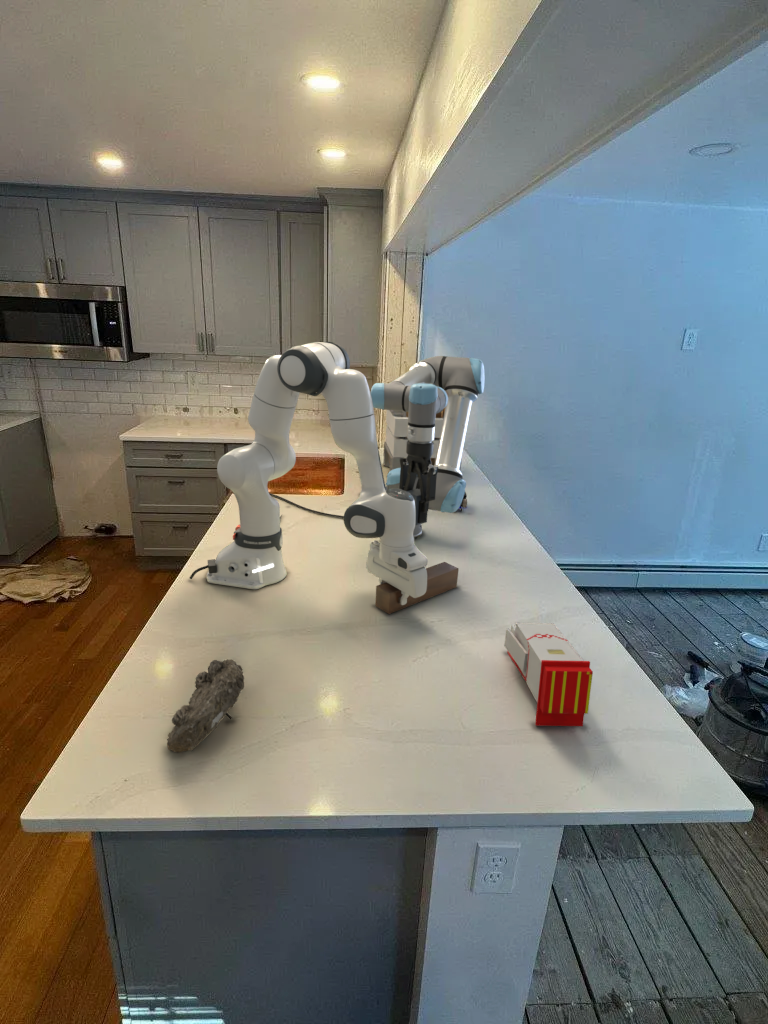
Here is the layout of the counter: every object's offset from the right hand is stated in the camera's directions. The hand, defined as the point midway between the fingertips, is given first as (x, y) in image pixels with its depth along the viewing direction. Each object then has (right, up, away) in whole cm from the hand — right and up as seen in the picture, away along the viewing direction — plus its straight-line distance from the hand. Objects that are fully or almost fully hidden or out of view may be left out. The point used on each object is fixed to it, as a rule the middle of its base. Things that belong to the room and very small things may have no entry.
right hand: (415, 519), depth 165 cm
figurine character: (+20, +4, +64) cm, 67 cm away
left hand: (-6, -21, -14) cm, 26 cm away
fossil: (-42, -37, -57) cm, 80 cm away
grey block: (0, -1, 0) cm, 1 cm away
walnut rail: (0, -21, -8) cm, 23 cm away
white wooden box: (+8, +21, +110) cm, 112 cm away
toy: (+24, -35, -43) cm, 60 cm away
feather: (-47, -1, +43) cm, 64 cm away
